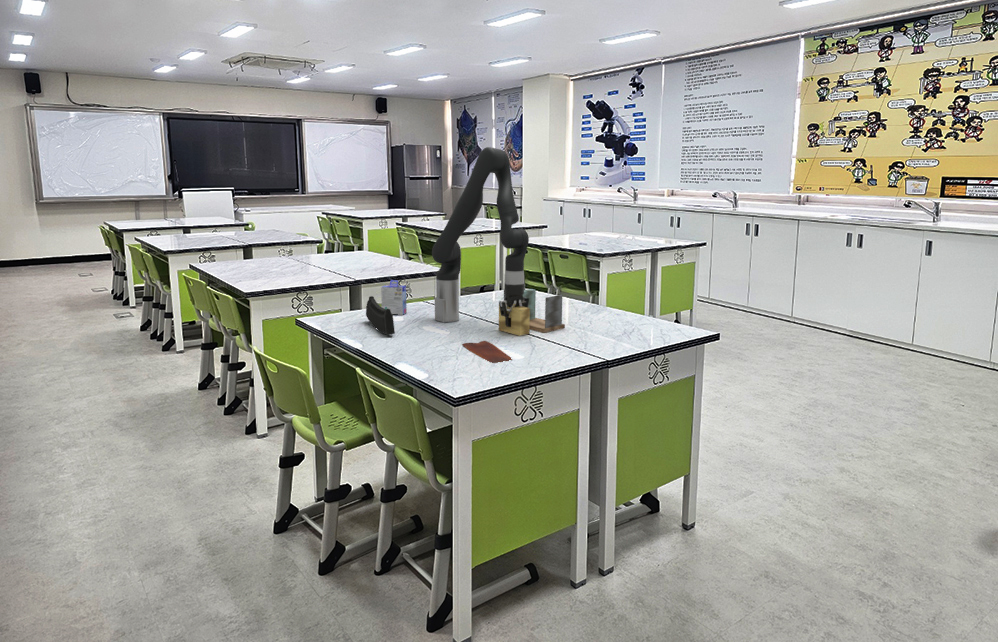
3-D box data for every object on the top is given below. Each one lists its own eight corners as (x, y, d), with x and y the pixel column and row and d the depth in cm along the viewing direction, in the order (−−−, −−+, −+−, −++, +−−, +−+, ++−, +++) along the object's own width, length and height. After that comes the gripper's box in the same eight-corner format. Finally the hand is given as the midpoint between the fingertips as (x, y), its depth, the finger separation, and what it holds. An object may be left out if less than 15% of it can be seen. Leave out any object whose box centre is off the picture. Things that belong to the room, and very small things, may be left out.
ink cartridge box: (407, 312, 299) (406, 280, 295) (403, 315, 293) (402, 282, 290) (385, 312, 300) (384, 279, 297) (381, 314, 295) (380, 281, 292)
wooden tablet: (460, 346, 246) (460, 342, 245) (486, 343, 249) (486, 339, 249) (488, 365, 222) (488, 360, 221) (516, 362, 226) (516, 357, 225)
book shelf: (543, 332, 263) (544, 298, 260) (500, 321, 282) (500, 289, 279) (564, 328, 271) (565, 294, 268) (521, 317, 289) (521, 286, 286)
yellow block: (519, 335, 258) (520, 309, 256) (498, 330, 267) (498, 304, 265) (529, 333, 261) (529, 308, 259) (508, 328, 270) (508, 303, 268)
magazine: (396, 315, 252) (374, 280, 275) (387, 315, 251) (366, 280, 274) (393, 354, 260) (373, 317, 283) (385, 355, 259) (365, 318, 282)
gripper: (521, 279, 267) (520, 321, 271) (493, 282, 258) (493, 326, 262) (534, 281, 262) (534, 324, 265) (507, 285, 252) (506, 330, 256)
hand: (513, 325), depth 264 cm, fingers closed on yellow block, 5 cm apart
